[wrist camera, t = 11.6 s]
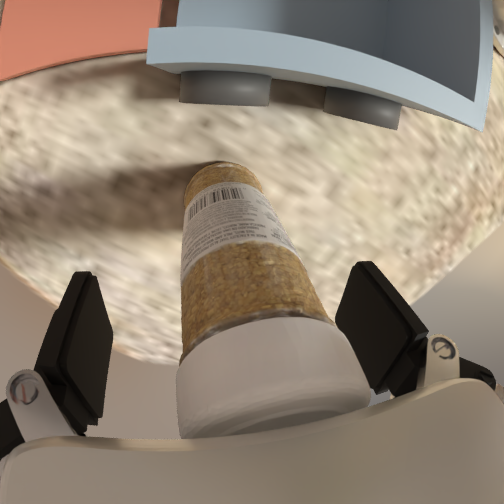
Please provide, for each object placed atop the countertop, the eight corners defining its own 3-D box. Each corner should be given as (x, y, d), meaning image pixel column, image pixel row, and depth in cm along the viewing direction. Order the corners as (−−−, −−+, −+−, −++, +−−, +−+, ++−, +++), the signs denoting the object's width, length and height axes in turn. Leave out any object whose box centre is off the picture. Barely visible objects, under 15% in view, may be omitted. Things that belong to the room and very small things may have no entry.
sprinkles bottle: (190, 236, 18) (202, 471, 6) (178, 165, 15) (146, 415, 4) (264, 225, 18) (352, 441, 7) (261, 154, 15) (406, 362, 4)
